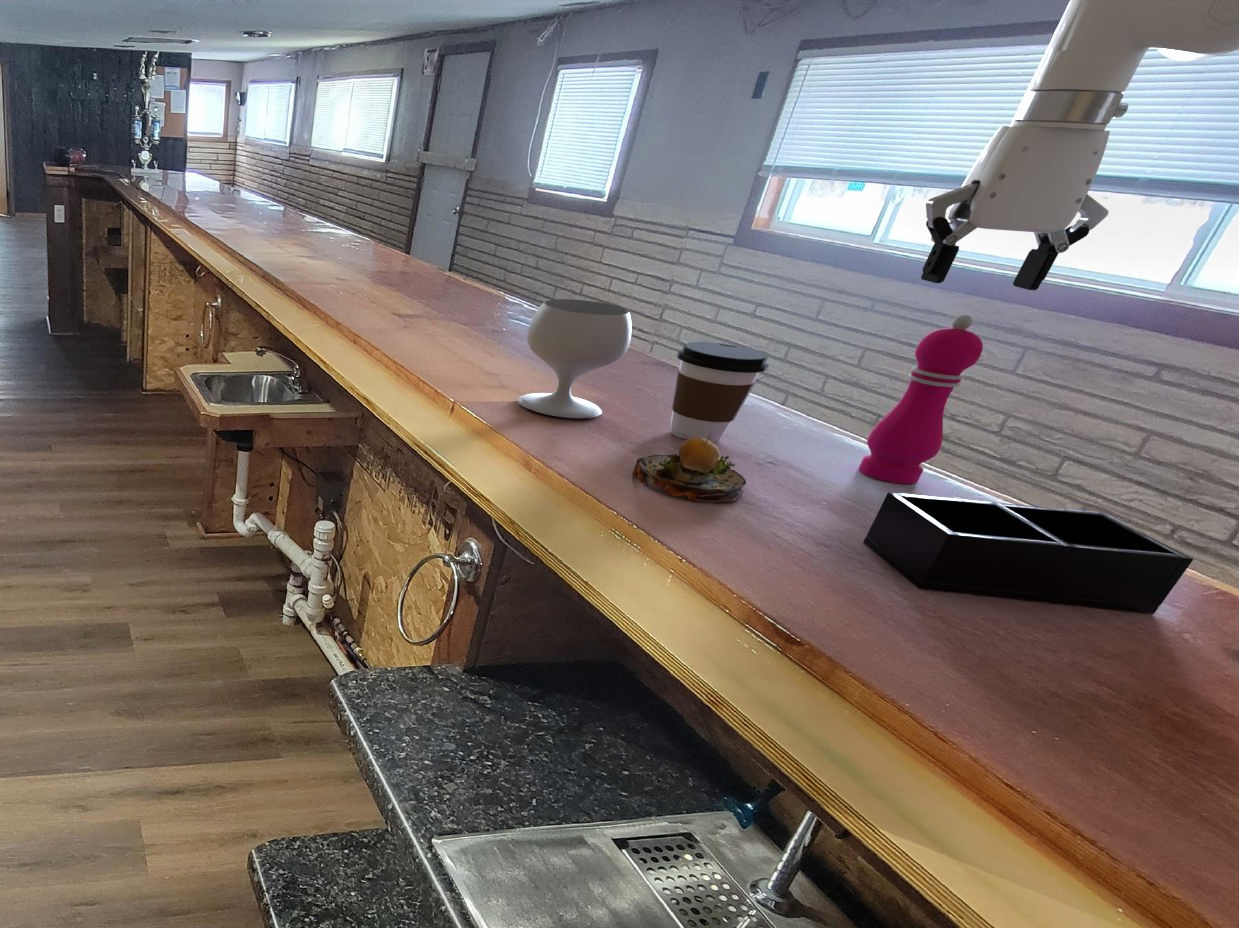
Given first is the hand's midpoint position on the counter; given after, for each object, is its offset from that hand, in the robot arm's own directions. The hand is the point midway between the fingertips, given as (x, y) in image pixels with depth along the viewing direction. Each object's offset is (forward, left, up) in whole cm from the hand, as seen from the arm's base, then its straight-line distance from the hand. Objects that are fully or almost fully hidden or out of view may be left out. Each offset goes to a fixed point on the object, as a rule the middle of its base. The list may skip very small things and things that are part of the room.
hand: (977, 284), depth 95 cm
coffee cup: (+20, -10, -24) cm, 32 cm away
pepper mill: (0, 0, -24) cm, 24 cm away
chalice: (+37, -18, -24) cm, 47 cm away
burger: (+28, +11, -24) cm, 38 cm away
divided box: (+4, +29, -23) cm, 38 cm away
